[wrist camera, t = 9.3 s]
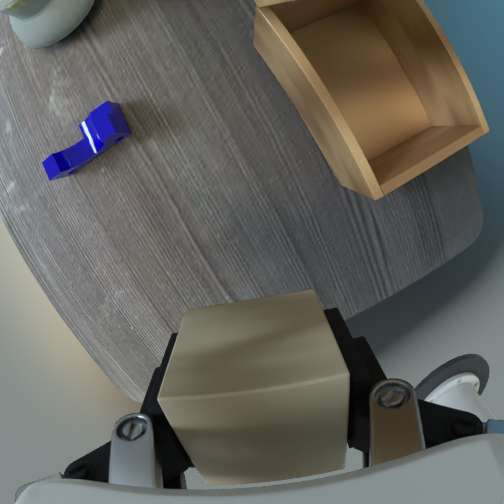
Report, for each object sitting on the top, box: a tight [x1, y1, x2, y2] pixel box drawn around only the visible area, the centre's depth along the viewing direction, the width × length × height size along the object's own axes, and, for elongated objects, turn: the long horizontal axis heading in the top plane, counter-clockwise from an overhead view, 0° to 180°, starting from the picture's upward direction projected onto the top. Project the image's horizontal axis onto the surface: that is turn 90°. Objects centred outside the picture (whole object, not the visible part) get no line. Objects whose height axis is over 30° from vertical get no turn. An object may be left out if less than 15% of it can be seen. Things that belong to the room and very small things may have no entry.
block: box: [157, 289, 350, 485], centre depth 9 cm, size 5×5×5 cm
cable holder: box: [42, 101, 132, 181], centre depth 24 cm, size 8×4×4 cm, turn 115°
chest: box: [253, 0, 490, 201], centre depth 21 cm, size 16×13×9 cm
